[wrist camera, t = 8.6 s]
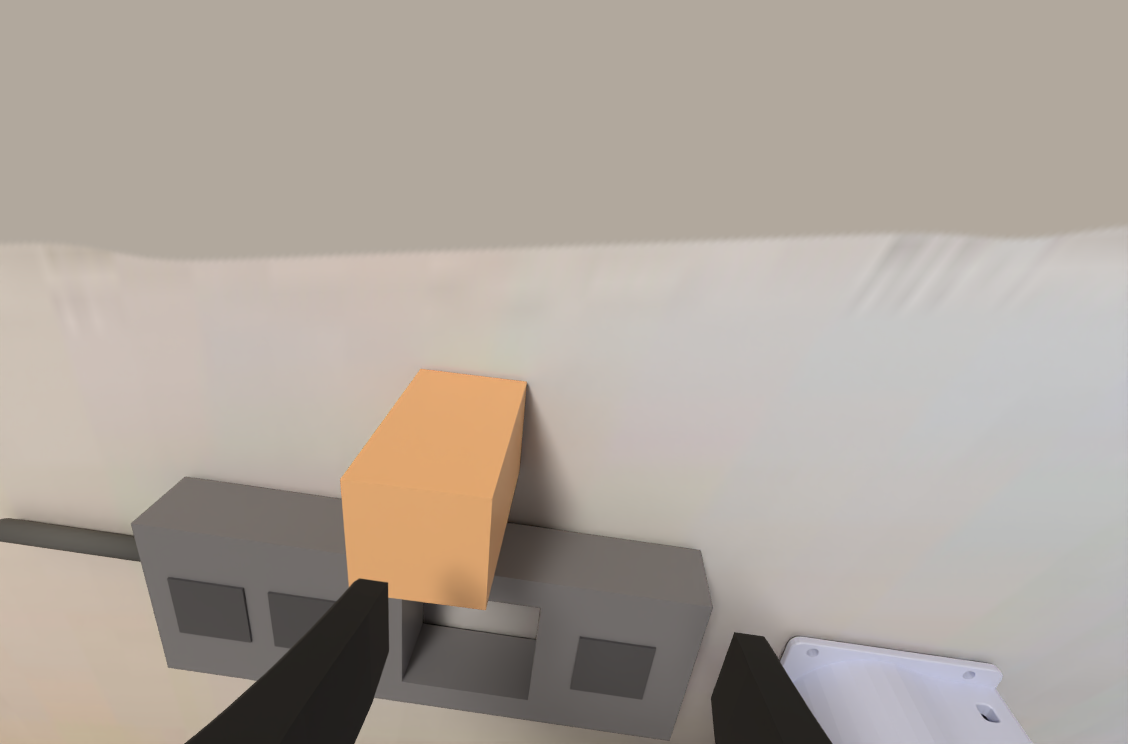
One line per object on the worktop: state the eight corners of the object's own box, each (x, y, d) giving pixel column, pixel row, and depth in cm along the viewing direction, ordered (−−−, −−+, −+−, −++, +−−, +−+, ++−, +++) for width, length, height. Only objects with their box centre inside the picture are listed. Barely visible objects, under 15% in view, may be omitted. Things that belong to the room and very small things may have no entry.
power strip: (700, 550, 24) (713, 609, 21) (663, 677, 27) (669, 743, 24) (-23, 446, 24) (-108, 491, 21) (29, 585, 27) (-37, 640, 24)
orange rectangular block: (526, 381, 21) (492, 498, 15) (519, 470, 23) (485, 610, 16) (420, 368, 21) (340, 479, 15) (421, 458, 23) (349, 592, 16)
